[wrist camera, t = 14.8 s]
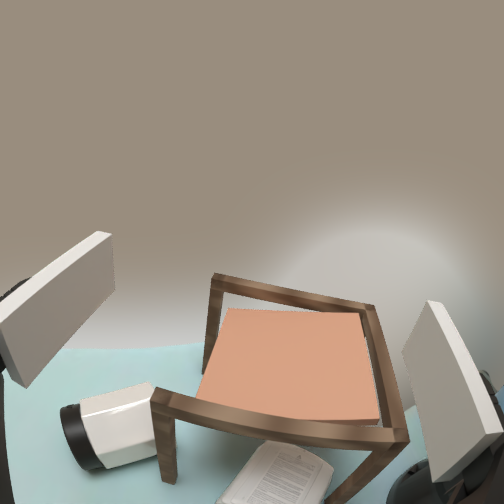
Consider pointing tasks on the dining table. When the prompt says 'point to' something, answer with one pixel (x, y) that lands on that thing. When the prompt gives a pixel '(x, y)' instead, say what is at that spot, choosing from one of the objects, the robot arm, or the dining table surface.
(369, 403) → the trapdoor
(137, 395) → the jar
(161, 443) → the trapdoor frame
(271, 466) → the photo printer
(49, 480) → the dining table surface
